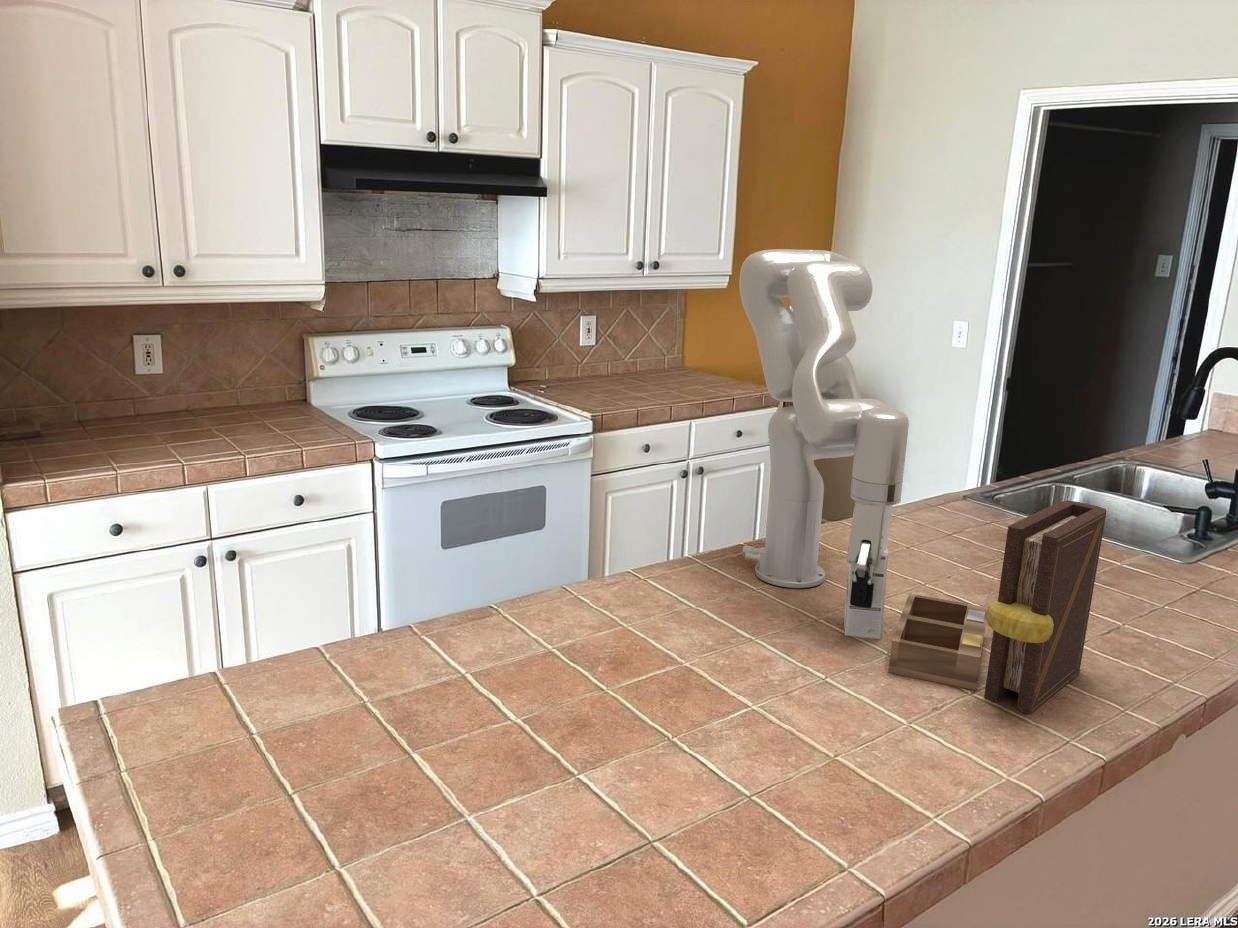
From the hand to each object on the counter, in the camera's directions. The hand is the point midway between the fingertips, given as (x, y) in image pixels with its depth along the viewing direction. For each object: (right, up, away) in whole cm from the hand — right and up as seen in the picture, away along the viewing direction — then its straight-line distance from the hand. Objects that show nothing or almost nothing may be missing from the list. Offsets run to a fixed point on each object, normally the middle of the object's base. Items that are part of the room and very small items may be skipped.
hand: (865, 596), depth 150 cm
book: (+20, -11, -15) cm, 27 cm away
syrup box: (0, -6, +2) cm, 6 cm away
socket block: (+10, -8, -6) cm, 14 cm away
